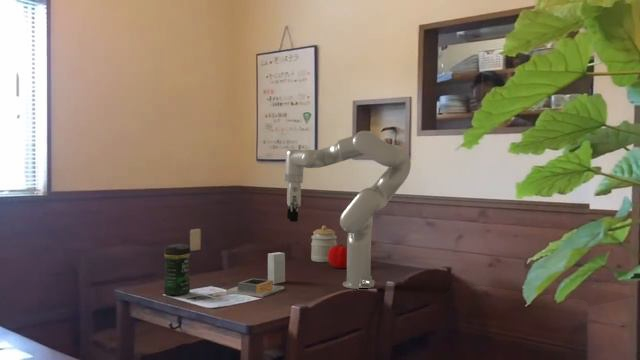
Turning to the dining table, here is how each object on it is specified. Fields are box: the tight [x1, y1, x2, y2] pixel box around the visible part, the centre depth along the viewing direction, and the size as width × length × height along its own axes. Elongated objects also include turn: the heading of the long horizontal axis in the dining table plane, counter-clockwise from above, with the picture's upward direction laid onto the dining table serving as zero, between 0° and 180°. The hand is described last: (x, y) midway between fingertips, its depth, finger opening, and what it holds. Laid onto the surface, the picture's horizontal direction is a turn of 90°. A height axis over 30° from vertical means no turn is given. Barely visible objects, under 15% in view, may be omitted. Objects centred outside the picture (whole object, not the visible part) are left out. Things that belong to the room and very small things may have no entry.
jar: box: [310, 225, 338, 263], centre depth 306 cm, size 13×13×18 cm
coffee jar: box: [163, 243, 191, 296], centre depth 228 cm, size 10×8×19 cm
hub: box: [225, 277, 285, 298], centre depth 234 cm, size 16×16×4 cm
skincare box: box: [267, 251, 286, 285], centre depth 251 cm, size 6×4×12 cm
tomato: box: [328, 244, 347, 269], centre depth 286 cm, size 12×12×11 cm
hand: (292, 220), depth 255 cm, fingers open, 9 cm apart
